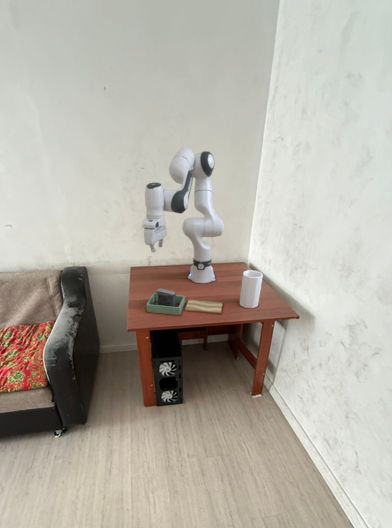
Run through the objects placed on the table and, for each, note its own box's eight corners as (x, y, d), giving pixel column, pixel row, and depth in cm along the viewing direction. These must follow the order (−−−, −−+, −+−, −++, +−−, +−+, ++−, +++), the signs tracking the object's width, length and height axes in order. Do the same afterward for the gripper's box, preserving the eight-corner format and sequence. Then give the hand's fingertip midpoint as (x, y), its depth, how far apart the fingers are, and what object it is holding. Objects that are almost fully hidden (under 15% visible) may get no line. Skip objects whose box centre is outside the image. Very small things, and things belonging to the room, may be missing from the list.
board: (188, 300, 172) (188, 299, 172) (222, 304, 170) (222, 302, 169) (185, 310, 163) (185, 309, 162) (220, 314, 160) (220, 312, 160)
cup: (243, 309, 165) (247, 278, 154) (236, 300, 174) (239, 270, 163) (261, 307, 168) (266, 276, 157) (253, 298, 176) (257, 269, 165)
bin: (153, 300, 172) (153, 293, 169) (184, 303, 170) (184, 296, 167) (146, 312, 160) (146, 304, 158) (179, 315, 158) (179, 307, 156)
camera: (177, 307, 165) (177, 291, 159) (172, 312, 161) (172, 295, 155) (160, 303, 169) (159, 287, 163) (155, 307, 165) (153, 290, 159)
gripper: (158, 216, 153) (159, 243, 161) (140, 224, 137) (143, 254, 145) (169, 217, 151) (170, 244, 159) (153, 225, 135) (154, 255, 143)
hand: (157, 249), depth 152 cm, fingers open, 8 cm apart
